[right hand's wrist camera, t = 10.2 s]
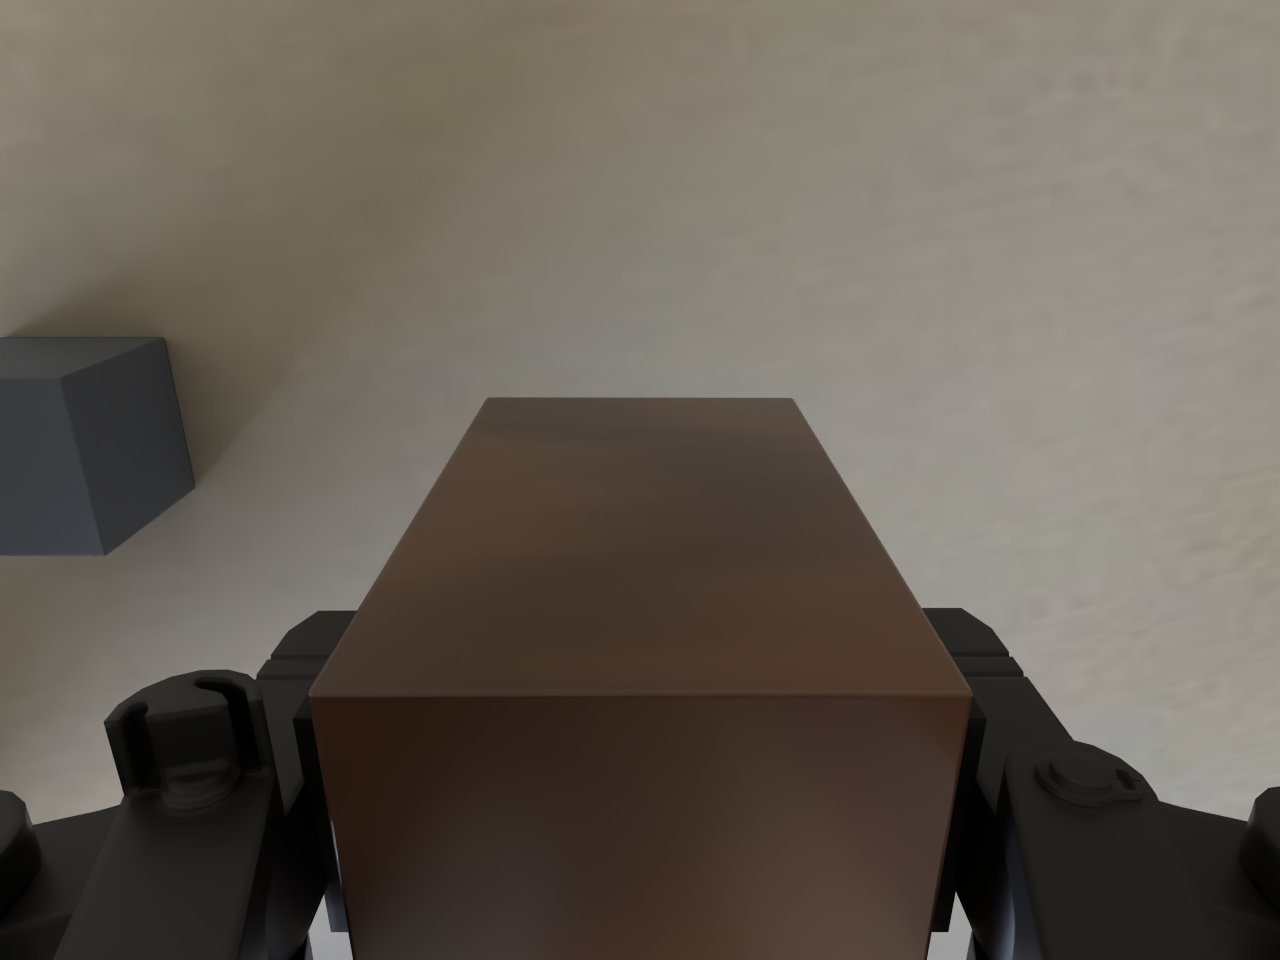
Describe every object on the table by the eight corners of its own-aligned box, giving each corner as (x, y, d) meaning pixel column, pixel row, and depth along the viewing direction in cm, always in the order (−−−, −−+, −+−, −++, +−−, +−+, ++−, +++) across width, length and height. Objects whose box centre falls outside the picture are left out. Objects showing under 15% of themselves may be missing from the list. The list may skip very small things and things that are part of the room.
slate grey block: (164, 336, 26) (60, 377, 21) (195, 488, 28) (106, 557, 23) (1, 336, 26) (-140, 377, 21) (42, 488, 28) (-78, 557, 23)
